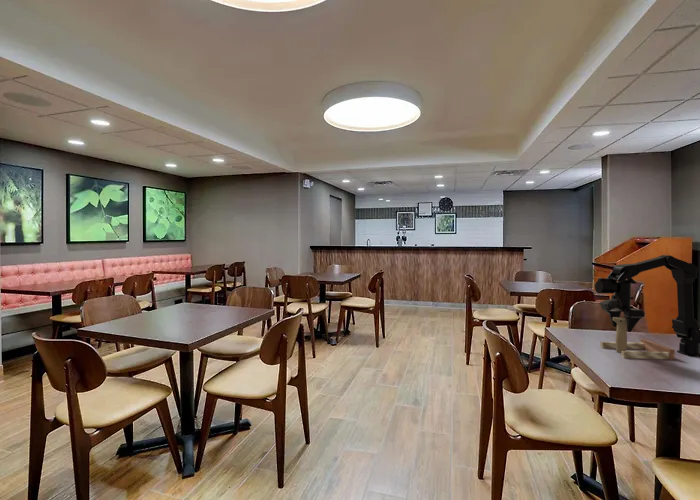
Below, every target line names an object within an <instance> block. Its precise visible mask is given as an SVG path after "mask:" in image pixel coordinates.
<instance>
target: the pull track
mask: <svg viewBox="0 0 700 500" xmlns="http://www.w3.org/2000/svg"><path fill="white" fill-rule="evenodd" d="M599 346H600V348H601V349H617V348H616V341H600V345H599ZM629 349H631V350H629ZM625 350H626V351H621V353H620V355H621V358H623V359H645V360H646V359H647V360H649V359H650V360H652V359H654V360H655V359H656V360H675V357H676V356H675V353H676V352H675V351H676V350H675V349H673V348H671V347H667V346H666V345H662V344H660V343H656V342H654V341H651V340H648V339H645V338H644V339H640V342H634V341H633V342H632V341H631V342H629V341H627V347H626V349H625ZM636 350H639V351H636ZM641 350H645V351H641Z"/></svg>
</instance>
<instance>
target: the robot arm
mask: <svg viewBox="0 0 700 500" xmlns="http://www.w3.org/2000/svg"><path fill="white" fill-rule="evenodd" d="M660 267H664V268H666V269H668V270H669V271H671V276H672V278H673V279H674V281H675V282H676V290H677V291H676V292H677V293H676V294H677V296H676V297H677V316H676V318H672V319H671V323H672V326H671V329H673V332H675V334H676V337H677V338H678V339H680V342H678V343H679V345H678V346H679V348H678V350H676V352H677V353H680V354H683V355H686V356H689V357H700V326H699V322H698V321H697V319H696V318H695V317H694V316H695V315H694V294H693V292H694V291H693V283H694V282H695V280H696V279H697V278H698V276H697V275H698V271H699V270H698V266H697V265H695V264H694V263H691V262H687V261H685V260H682V259H679V258H677V257H674V256H673V255H668V254H661V255H659V256H657V257H653V258H650V259H646V260H642V261H637V262H634V263H623V264H616V265H614V266H613V268H612V271H611V272H610V273H609V274H608V276H606V277H605V278H604V277H598V278H597V281H596V282H595V284H594V290H595V291H596V293H597V294H612V295H611V297H610V298H609V299H606V300H602V301H600V302H599V305H600V308H601V310H603V311H604V312H606V313H607V314H608V316H609V318H610V321H611V324H612V326H613V328H617V323H616V322H614V321H613V317H620V316H621V313H623V318H626V320H627V326H626V328H627V332H628V333H631V332H632V331H633V330H634V328H635V326H636V325H637V323H638V322H639V321H640V320H641V319H643V318H645V315H646V313H645V311H644V310H643V309H641V308H640V309H639V308H634V306H633V305H631V304H632V300H634V296H632V284H633V285H636V284H637V283H638V282H637V281H635V280H634V278H635V277H637V276H638V275H639V274H640V273H643V272H646V271H649V270H654V269H657V268H660Z"/></svg>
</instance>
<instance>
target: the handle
mask: <svg viewBox="0 0 700 500" xmlns="http://www.w3.org/2000/svg"><path fill="white" fill-rule="evenodd" d="M613 321H614V322H616V323H617V326H616V333H615V342H616V348H615V351H616V353H619V354H621V351H627V349H626V347H627V342H628V334H627V332H628V330H627V320H626V318H625V317H613Z"/></svg>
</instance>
